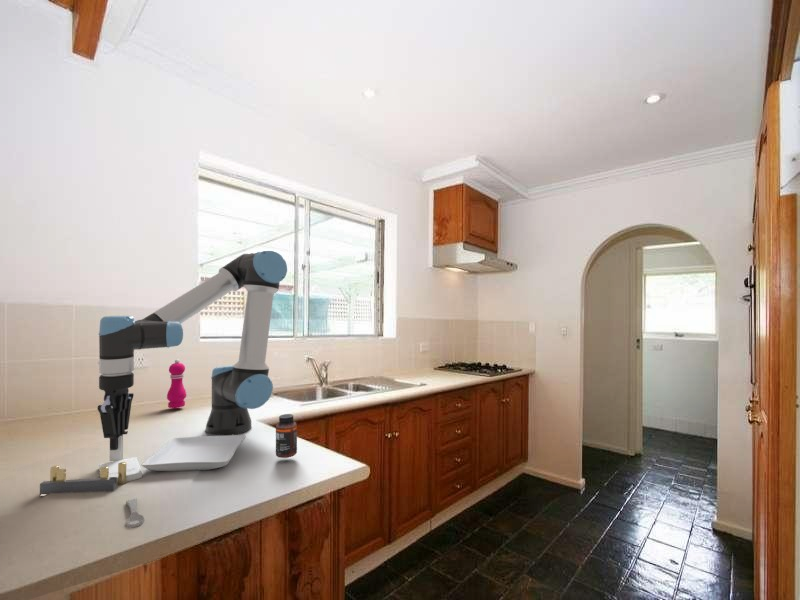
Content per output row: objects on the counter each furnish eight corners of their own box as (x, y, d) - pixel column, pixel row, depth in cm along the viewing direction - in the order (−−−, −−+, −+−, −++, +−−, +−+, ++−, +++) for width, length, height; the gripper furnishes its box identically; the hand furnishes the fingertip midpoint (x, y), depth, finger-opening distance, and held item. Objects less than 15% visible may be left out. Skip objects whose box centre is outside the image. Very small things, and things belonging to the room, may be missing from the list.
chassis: (127, 482, 94) (127, 461, 94) (115, 492, 89) (116, 470, 89) (53, 486, 92) (53, 465, 92) (37, 497, 87) (37, 474, 87)
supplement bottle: (295, 449, 116) (296, 412, 116) (298, 457, 110) (298, 417, 110) (274, 452, 114) (275, 413, 114) (276, 460, 108) (276, 419, 108)
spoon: (126, 533, 74) (126, 523, 74) (122, 507, 83) (122, 498, 83) (145, 528, 76) (145, 517, 76) (139, 503, 85) (139, 494, 85)
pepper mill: (180, 408, 161) (180, 360, 161) (162, 408, 161) (163, 360, 161) (189, 404, 168) (190, 358, 168) (173, 403, 168) (173, 358, 168)
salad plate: (246, 444, 121) (246, 433, 121) (228, 473, 100) (228, 459, 100) (173, 447, 118) (173, 436, 118) (139, 478, 97) (139, 465, 97)
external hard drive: (136, 462, 106) (142, 478, 96) (99, 470, 101) (100, 487, 91) (136, 456, 106) (142, 471, 96) (99, 464, 101) (100, 480, 91)
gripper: (114, 368, 109) (114, 451, 110) (86, 378, 97) (85, 471, 97) (143, 368, 111) (143, 450, 111) (119, 378, 98) (118, 470, 98)
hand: (116, 460), depth 104 cm, fingers closed
